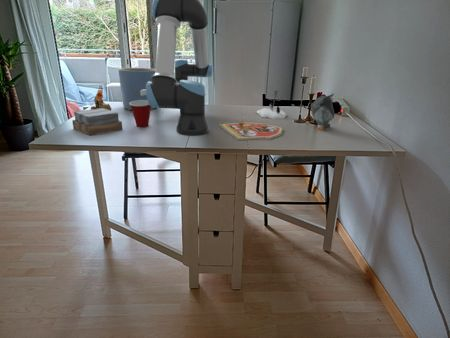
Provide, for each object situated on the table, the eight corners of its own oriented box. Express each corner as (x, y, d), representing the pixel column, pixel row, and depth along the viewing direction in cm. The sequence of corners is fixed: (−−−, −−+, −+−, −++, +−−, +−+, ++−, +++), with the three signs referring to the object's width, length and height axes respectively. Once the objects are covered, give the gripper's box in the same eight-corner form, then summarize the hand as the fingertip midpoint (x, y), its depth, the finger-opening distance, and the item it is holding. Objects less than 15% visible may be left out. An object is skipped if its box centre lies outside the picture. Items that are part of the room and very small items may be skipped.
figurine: (254, 110, 197) (257, 84, 189) (282, 111, 198) (286, 86, 190) (259, 120, 179) (262, 92, 172) (289, 121, 180) (293, 93, 173)
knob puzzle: (217, 126, 159) (217, 118, 157) (267, 123, 169) (268, 115, 167) (239, 142, 134) (240, 132, 132) (296, 138, 144) (298, 129, 142)
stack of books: (122, 129, 145) (121, 112, 142) (89, 135, 133) (87, 117, 130) (105, 123, 154) (103, 107, 151) (73, 128, 143) (70, 111, 140)
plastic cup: (126, 126, 150) (124, 102, 146) (141, 122, 159) (139, 99, 155) (143, 129, 146) (141, 104, 141) (157, 125, 155) (156, 101, 150)
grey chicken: (300, 127, 161) (305, 93, 155) (316, 123, 171) (321, 91, 164) (324, 133, 152) (330, 97, 145) (340, 129, 161) (346, 94, 154)
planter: (159, 110, 188) (158, 71, 179) (121, 111, 182) (117, 70, 173) (157, 104, 208) (155, 68, 199) (122, 104, 202) (119, 67, 193)
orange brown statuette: (105, 112, 177) (102, 88, 172) (118, 119, 163) (116, 93, 158) (90, 114, 173) (87, 89, 167) (103, 121, 158) (100, 94, 153)
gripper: (192, 97, 172) (173, 104, 154) (155, 93, 180) (132, 99, 162) (192, 84, 169) (173, 88, 151) (154, 80, 177) (131, 84, 159)
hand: (152, 94), depth 156 cm, fingers open, 13 cm apart
